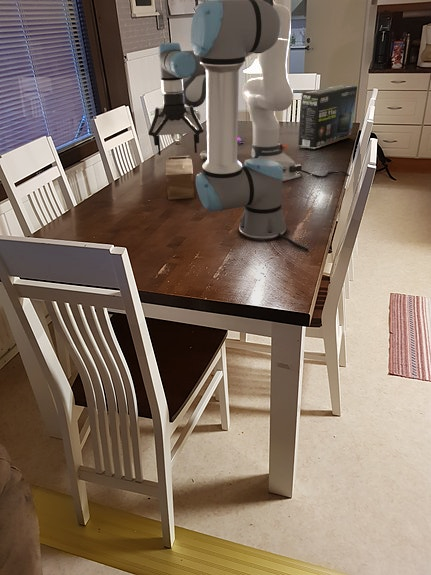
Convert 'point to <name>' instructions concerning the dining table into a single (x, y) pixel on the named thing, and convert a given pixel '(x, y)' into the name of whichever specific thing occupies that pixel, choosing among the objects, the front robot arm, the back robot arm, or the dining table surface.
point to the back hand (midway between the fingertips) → (177, 144)
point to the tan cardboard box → (179, 179)
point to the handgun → (240, 140)
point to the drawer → (179, 157)
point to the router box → (326, 115)
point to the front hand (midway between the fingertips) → (177, 153)
